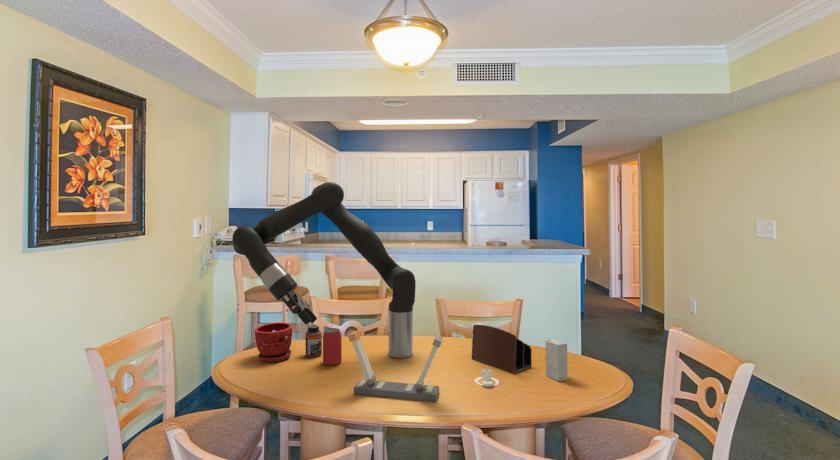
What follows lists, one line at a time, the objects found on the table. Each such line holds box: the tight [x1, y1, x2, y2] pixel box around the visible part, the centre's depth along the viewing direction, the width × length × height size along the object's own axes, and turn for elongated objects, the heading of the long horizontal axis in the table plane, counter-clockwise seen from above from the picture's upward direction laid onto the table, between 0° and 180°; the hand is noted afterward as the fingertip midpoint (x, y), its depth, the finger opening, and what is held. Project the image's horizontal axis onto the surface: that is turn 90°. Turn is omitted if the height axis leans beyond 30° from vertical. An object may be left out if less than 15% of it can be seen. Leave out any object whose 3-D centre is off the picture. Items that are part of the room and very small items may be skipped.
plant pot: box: [254, 322, 293, 363], centre depth 156 cm, size 13×13×12 cm
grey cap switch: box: [415, 334, 444, 390], centre depth 125 cm, size 4×2×16 cm, turn 169°
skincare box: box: [545, 338, 568, 382], centre depth 140 cm, size 6×4×12 cm
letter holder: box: [471, 324, 533, 375], centre depth 153 cm, size 10×20×14 cm, turn 41°
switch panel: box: [353, 379, 440, 403], centre depth 127 cm, size 6×25×2 cm, turn 79°
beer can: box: [322, 327, 342, 367], centre depth 152 cm, size 7×7×12 cm
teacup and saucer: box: [474, 368, 500, 388], centre depth 136 cm, size 9×8×4 cm
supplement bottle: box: [305, 324, 323, 359], centre depth 160 cm, size 6×6×11 cm
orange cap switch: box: [347, 329, 377, 386], centre depth 129 cm, size 4×2×16 cm, turn 169°
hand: (311, 321), depth 127 cm, fingers open, 8 cm apart
